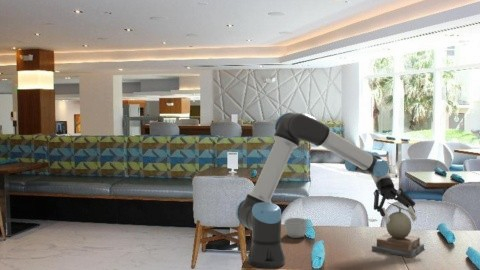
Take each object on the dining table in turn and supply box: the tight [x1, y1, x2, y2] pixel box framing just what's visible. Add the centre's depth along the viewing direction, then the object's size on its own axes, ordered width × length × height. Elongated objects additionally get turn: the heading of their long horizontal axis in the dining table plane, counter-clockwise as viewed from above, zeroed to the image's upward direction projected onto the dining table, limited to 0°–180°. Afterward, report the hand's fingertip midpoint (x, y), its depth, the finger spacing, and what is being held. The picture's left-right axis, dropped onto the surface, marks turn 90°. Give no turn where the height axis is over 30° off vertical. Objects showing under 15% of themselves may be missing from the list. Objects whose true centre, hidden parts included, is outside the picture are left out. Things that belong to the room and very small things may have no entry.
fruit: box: [385, 202, 413, 239], centre depth 219 cm, size 10×12×15 cm
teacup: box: [283, 217, 308, 239], centre depth 242 cm, size 14×11×8 cm
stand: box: [371, 232, 425, 258], centre depth 219 cm, size 17×17×5 cm
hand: (401, 221), depth 216 cm, fingers open, 13 cm apart
